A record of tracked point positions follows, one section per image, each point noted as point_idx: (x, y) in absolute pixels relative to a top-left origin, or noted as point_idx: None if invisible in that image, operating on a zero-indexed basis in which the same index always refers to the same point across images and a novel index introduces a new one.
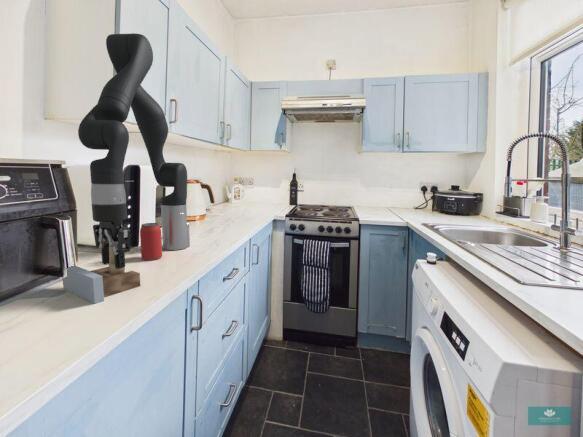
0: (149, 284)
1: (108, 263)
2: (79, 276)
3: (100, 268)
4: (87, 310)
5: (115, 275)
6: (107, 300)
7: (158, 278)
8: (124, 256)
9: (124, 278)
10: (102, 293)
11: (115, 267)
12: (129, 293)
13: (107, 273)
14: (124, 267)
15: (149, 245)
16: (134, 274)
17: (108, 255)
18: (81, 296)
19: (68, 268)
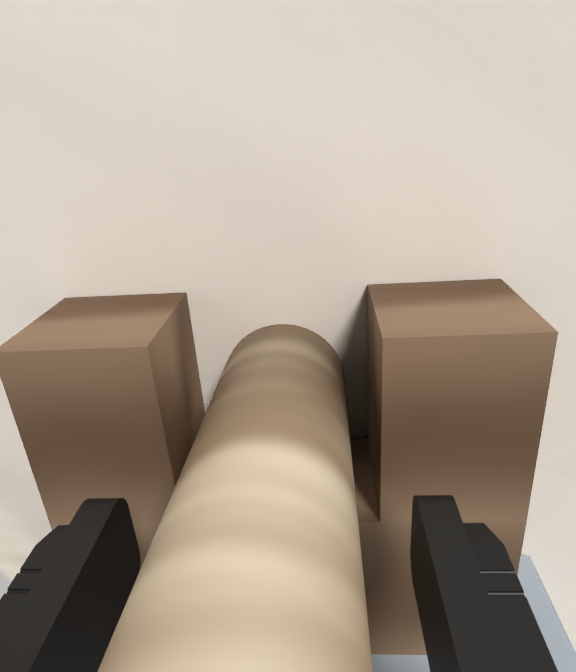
0: (545, 199)
1: (132, 525)
2: None
3: (39, 490)
4: (572, 641)
5: (395, 507)
6: (541, 542)
7: (469, 11)
8: (547, 654)
9: (525, 478)
10: (550, 609)
11: (415, 579)
12: (570, 414)
13: (182, 468)
14: (321, 416)
15: None
16: (547, 392)
17: (86, 616)
18: None
19: None
